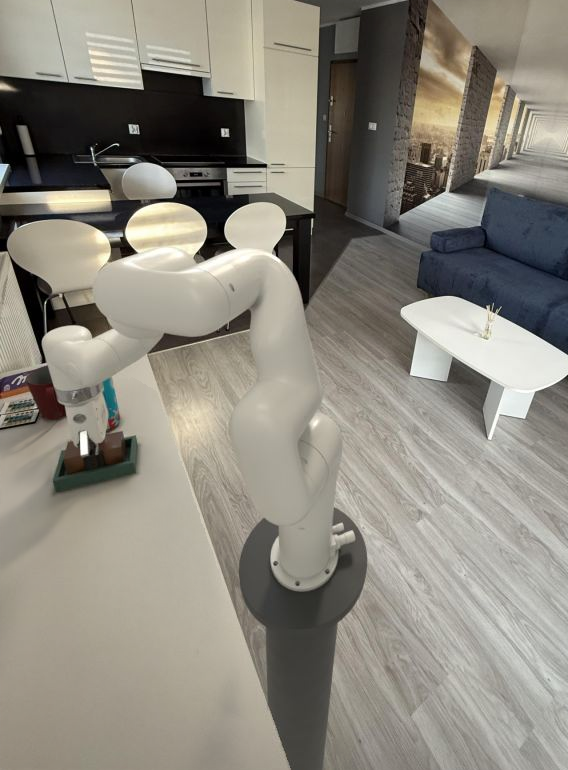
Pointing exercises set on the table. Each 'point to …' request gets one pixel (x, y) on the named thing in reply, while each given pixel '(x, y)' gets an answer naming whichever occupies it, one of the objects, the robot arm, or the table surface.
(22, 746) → the table surface
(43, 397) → the mug
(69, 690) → the table surface
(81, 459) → the walnut box
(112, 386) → the beverage can
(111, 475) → the tray
